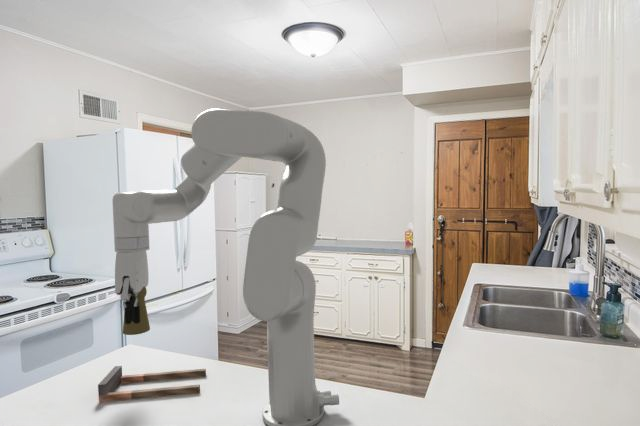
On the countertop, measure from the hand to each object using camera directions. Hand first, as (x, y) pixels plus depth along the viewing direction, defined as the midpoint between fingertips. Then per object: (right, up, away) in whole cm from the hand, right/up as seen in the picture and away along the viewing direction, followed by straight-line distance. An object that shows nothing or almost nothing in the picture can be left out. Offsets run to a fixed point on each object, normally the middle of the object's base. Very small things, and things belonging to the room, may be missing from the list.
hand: (135, 320), depth 98 cm
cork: (0, -3, 0) cm, 3 cm away
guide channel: (+5, -17, +1) cm, 17 cm away
